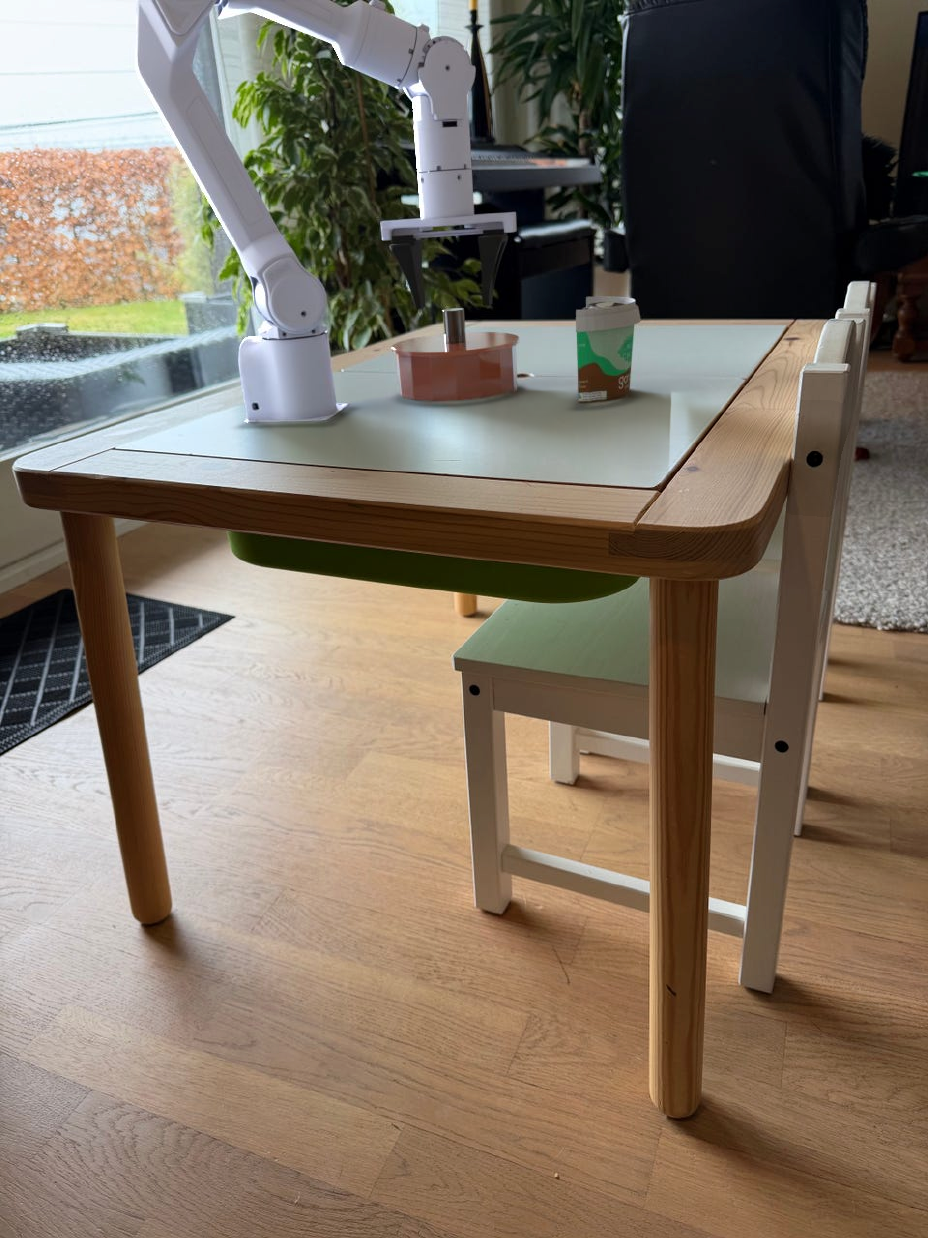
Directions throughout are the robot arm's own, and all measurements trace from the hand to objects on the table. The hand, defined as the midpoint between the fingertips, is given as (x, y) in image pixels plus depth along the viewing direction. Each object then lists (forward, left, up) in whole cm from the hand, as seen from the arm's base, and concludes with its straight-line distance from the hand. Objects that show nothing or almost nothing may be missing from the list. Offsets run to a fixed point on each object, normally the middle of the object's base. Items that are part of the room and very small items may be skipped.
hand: (453, 306), depth 105 cm
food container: (+18, -3, -10) cm, 20 cm away
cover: (0, +2, -4) cm, 5 cm away
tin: (0, +2, -10) cm, 10 cm away
